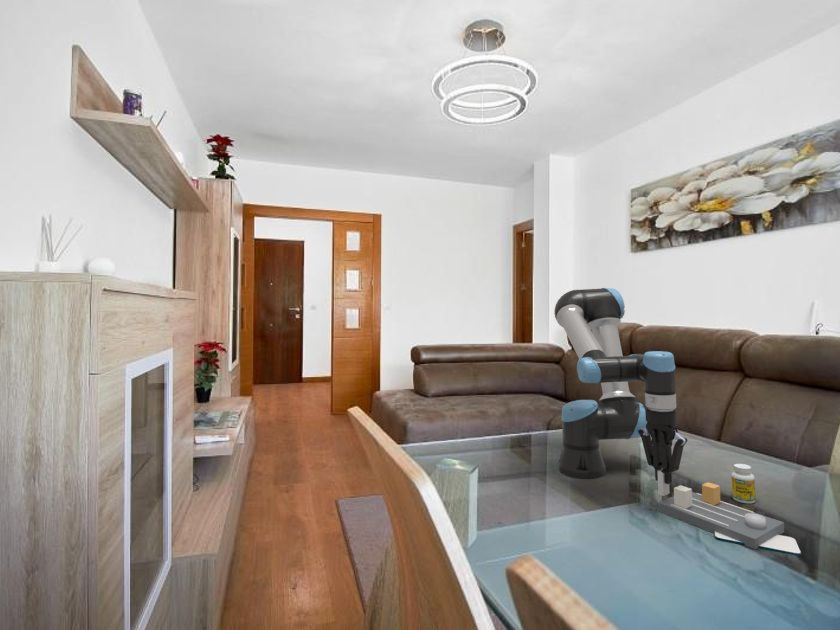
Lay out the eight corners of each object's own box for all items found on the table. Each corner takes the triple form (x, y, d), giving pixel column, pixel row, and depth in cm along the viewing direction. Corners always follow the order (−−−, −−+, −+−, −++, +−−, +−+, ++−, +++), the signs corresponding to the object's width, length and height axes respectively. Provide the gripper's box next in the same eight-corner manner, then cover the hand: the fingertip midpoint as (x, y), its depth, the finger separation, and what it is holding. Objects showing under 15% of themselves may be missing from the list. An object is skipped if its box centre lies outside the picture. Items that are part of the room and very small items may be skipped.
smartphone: (794, 541, 105) (713, 526, 113) (794, 537, 105) (713, 522, 113) (802, 558, 98) (714, 541, 106) (802, 554, 98) (714, 537, 106)
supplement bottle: (754, 497, 127) (753, 464, 127) (757, 505, 122) (756, 470, 122) (731, 494, 129) (730, 461, 129) (733, 502, 125) (732, 467, 125)
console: (658, 511, 122) (658, 495, 122) (688, 498, 128) (687, 483, 128) (755, 549, 101) (754, 530, 101) (784, 532, 108) (783, 514, 108)
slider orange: (702, 501, 120) (701, 484, 120) (708, 498, 122) (708, 482, 122) (714, 505, 118) (713, 488, 118) (720, 502, 119) (719, 485, 119)
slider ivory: (674, 504, 119) (673, 487, 119) (681, 501, 121) (680, 485, 121) (685, 508, 117) (685, 491, 116) (692, 505, 118) (691, 488, 118)
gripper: (630, 406, 127) (633, 489, 127) (675, 415, 115) (679, 506, 116) (647, 402, 130) (650, 483, 131) (692, 410, 119) (696, 498, 119)
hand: (663, 493), depth 123 cm, fingers closed
